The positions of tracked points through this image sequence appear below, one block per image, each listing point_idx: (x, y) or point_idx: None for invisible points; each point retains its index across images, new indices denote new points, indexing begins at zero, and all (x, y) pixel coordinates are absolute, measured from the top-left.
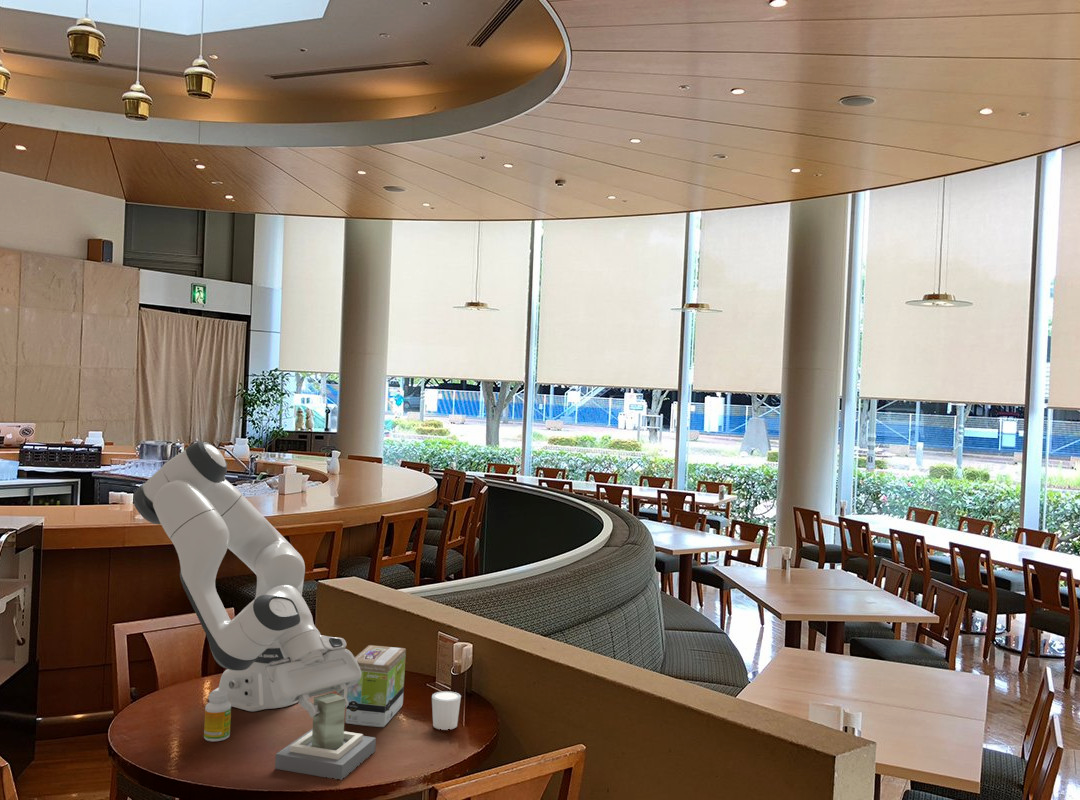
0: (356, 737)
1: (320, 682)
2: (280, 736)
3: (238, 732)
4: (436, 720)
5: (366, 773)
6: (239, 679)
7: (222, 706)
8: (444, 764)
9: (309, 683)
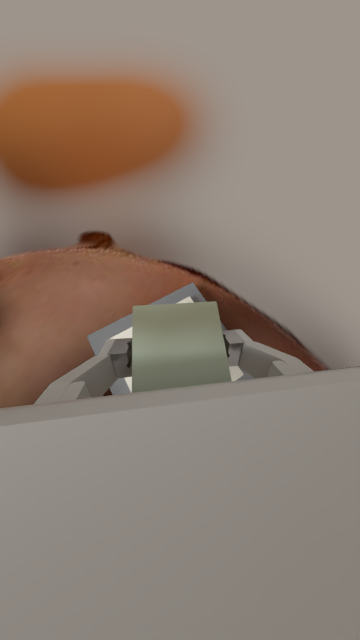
0: (126, 333)
1: (227, 414)
2: None
3: None
4: None
5: (155, 290)
6: None
7: None
8: (65, 254)
9: (329, 417)
